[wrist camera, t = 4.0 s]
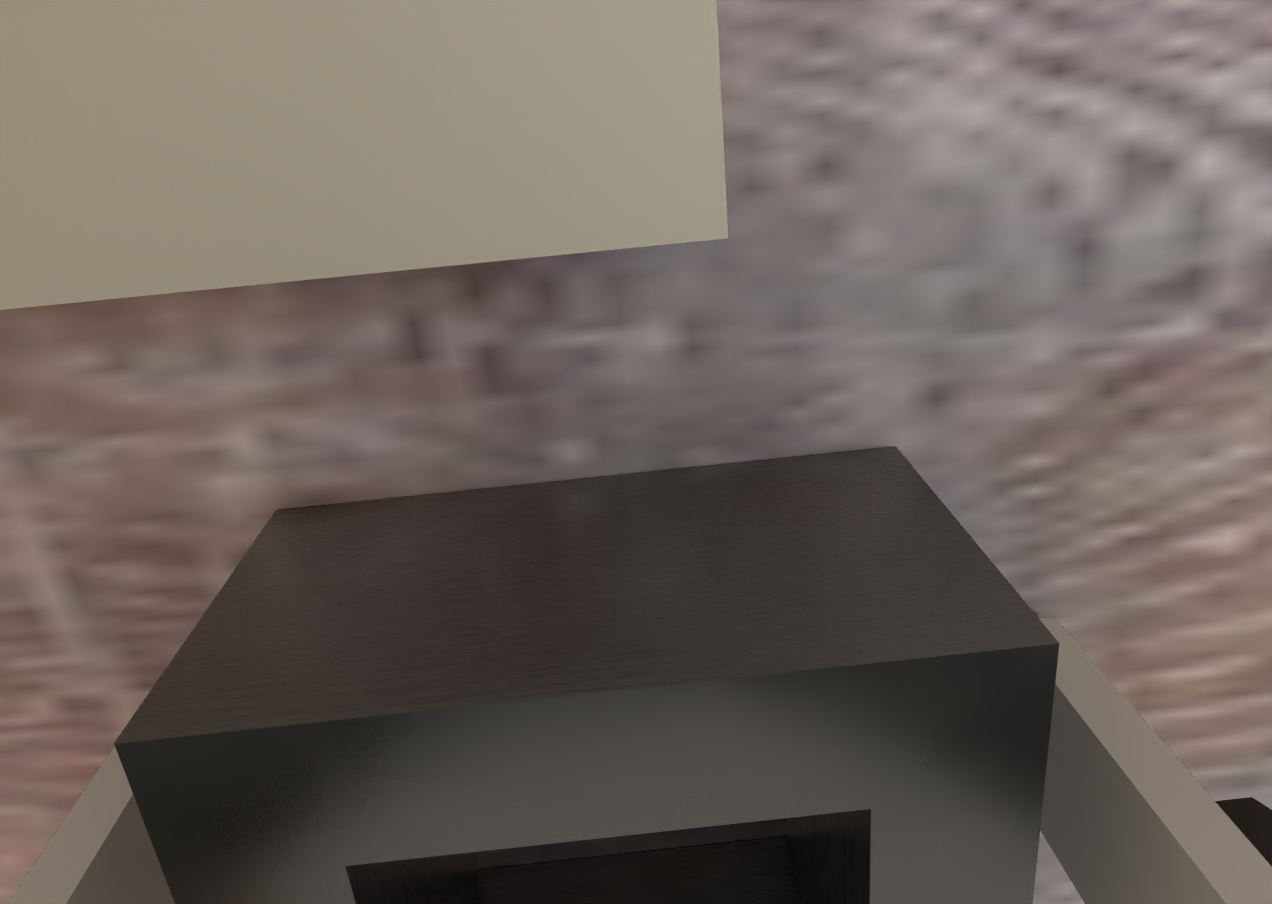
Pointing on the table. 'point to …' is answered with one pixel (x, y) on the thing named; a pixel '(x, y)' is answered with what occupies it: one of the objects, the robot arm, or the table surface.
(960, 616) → the steel link
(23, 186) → the keeper board
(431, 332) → the table surface
